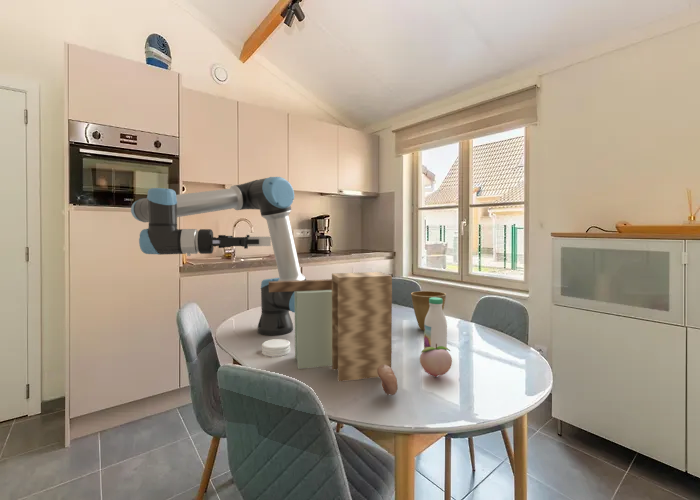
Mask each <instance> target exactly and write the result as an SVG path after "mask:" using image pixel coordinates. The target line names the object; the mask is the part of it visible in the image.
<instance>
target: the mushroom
mask: <svg viewBox="0 0 700 500" xmlns="http://www.w3.org/2000/svg"><path fill="white" fill-rule="evenodd" d="M377 372H378V375H379V377H378V378H379V379H380V380H381V388H382V390H383V392H384V394H386V396H394V395H395V394H396V393H397V392H398V388H399V387H398V380H397V377H396V375H395V371H394V370H393V368H392V366H391V367H389V366H388V365H381V366H379V367H378V369H377Z"/></svg>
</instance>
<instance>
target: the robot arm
mask: <svg viewBox="0 0 700 500" xmlns="http://www.w3.org/2000/svg"><path fill="white" fill-rule="evenodd" d="M294 200H295V191H294V188H293V186H292V185H291V183H290V181H288V180H287V179H286V178H284V177H281V176H270V177H264V178H261V179H260V178H259V179H256V180H252V181H248V182H245V183H240V184H235V185H231V186H230V187H229V188H223V189H216V190H208V191H198V192H196V191H195V192H189V193H180V194H177V193H176V191H175V190H174V189H172V188H164V187H163V188H162V187H151V188H149V189H147V196H146V198H145V197H144V198H139V199H138V200H136V201H134V202H133V203H132V205H131V206H130V207H131V209H130V213H131V215H132V217H133V218H134V219H135V220H137V221H140V222H142V223H148V225H147V228H143V229H142V230H140V232H139V238H138V243H139V248H140V250H141V252H143V254H146V255H183V254H184V255H186V256H188V257H190V256H191V254H194V255H197V254H198V253H199V254H201V255H202V254H203V255H207V254H209V255H210V254H213V252H214V247H215V248H216V247H218V248H219V249H226V248H232V247H242V248H244V249H245V250H246V249H248V247H271V246H272V250H273V254H274V258H275V259H274V260H275V263H276V269H277V271H278V276H279V277H275V278H274V277H273V278H266V279H265V278H264V279H263V280H261V283H260V295H261V297H260V300H261V305H260V307H261V309H260V310H261V312H260V313H261V314H260V317H259V320H258V323H257V324H258V325H257V333H258V334H260V335H263V336H264V335H265V336H280V335H281V336H282V335H286V334H289V333H292V332H293V330H294V322H293V320H292V318H291V314H290V312H292V313H294V314H295V293H294V291H289V292H269V282H270V281H298V280H307V279H306V278H307V277H306V275H304V274H303V273H302V272H301V267H300V264H299V258H298V253H297V248H296V245H295V244H296V242H295V239H294V234H293V230H292V225H291V219H290V213H291V212H292V207H291V205H292V204H293V203H294ZM231 209H234V210H236V211H243V210H259V212H260V215H261V217H262V218H263V219H265V220H266V224H267V229H268V233H269V236H250V234H246V236H242V237H241V236H233V235H226V234H219V235H217V236H218V237H216V236H214V232H213V230H212V229H208V228H205V229H202V228H200V229H199V230H198V229H197V228H178V218H180V217H186V216H187V217H188V216H195V215H199V214H206V213H213V212H218V211H225V210H231Z"/></svg>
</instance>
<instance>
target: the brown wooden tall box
mask: <svg viewBox="0 0 700 500" xmlns="http://www.w3.org/2000/svg"><path fill="white" fill-rule="evenodd" d="M331 279H332V366H331V368H332V370H333V371H337V380H338V382H345V381H354V380H355V381H356V380H363V379H364V380H365V379H373V378H380V377H379V375H378V372H377V369H378V367H379V366H381V365H388V366H389V367H391V368H392V354H393V353H392V350H393V349H392V337H393V336H392V331H393V330H392V329H393V327H392V326H393V325H392V322H393V321H392V320H393V319H392V318H393V316H392V315H393V303H392V302H393V275H390V274H388V273H385V272H382V271H375V272H374V271H371V272H367V271H366V272H337V273H336V272H335V273H331Z"/></svg>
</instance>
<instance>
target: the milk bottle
mask: <svg viewBox="0 0 700 500" xmlns="http://www.w3.org/2000/svg"><path fill="white" fill-rule="evenodd" d="M442 303H443V299H442V298H438V297H432V298H429V305H430V307H429V311H428V313H427V315H426V317H425V322H424V331H423V349H425V348H427V347H436V344H437V347H438V346H444V347H447V346H448V343H447V342H448V329H447V328H448V324H447V323H448V322H447V317H446V316H445V315H446V314H445V312H444V309H443V310H442V305H443V304H442ZM447 348H448V347H447Z"/></svg>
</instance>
